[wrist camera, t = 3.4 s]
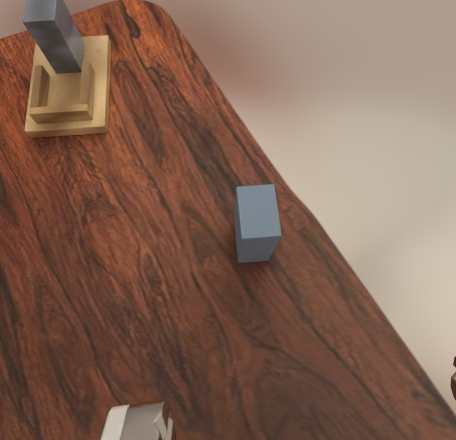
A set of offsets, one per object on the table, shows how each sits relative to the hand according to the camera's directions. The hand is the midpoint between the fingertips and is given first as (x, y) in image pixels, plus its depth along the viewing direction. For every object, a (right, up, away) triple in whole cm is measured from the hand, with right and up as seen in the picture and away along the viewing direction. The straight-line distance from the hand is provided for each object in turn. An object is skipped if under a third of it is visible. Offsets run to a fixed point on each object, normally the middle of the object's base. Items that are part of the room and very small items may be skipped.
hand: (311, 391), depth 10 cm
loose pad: (0, +2, +31) cm, 31 cm away
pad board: (-24, +23, +38) cm, 50 cm away
